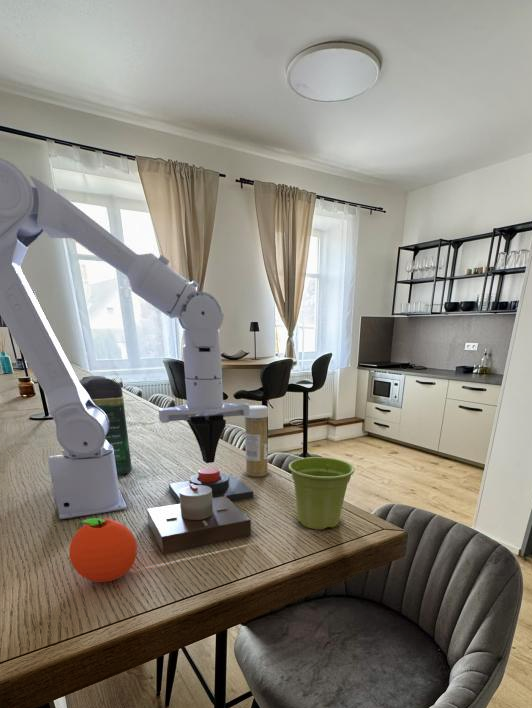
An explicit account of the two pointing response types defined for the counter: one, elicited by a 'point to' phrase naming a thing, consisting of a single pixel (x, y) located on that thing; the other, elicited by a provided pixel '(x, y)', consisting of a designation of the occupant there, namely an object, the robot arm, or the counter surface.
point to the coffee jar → (111, 417)
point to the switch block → (217, 488)
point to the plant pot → (320, 489)
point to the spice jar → (256, 441)
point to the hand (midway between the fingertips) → (208, 461)
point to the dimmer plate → (197, 526)
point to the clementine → (102, 550)
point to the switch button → (209, 474)
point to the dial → (196, 502)
